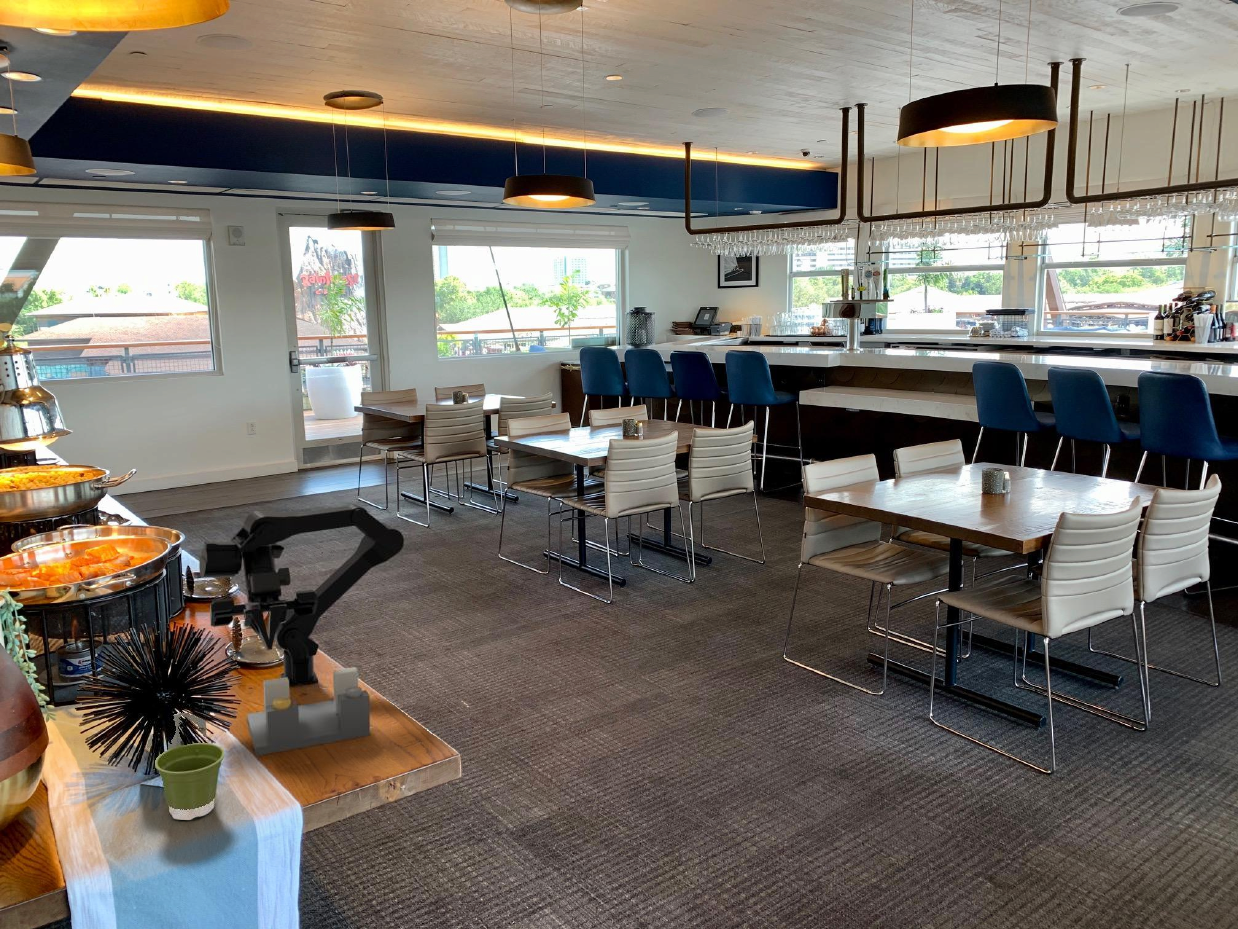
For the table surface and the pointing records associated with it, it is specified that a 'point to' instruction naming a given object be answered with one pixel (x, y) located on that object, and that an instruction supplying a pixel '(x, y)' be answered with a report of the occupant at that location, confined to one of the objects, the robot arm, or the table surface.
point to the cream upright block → (343, 682)
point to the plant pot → (190, 774)
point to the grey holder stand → (310, 722)
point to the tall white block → (275, 691)
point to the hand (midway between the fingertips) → (269, 649)
